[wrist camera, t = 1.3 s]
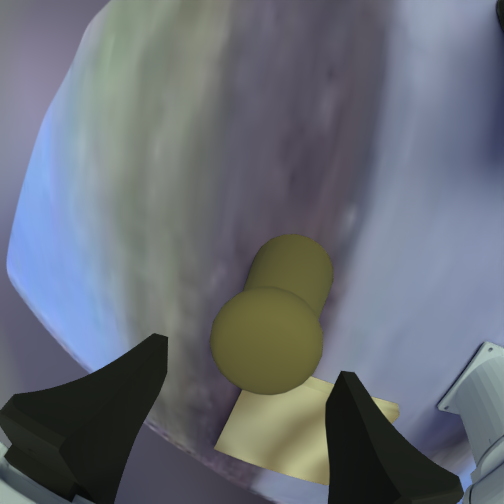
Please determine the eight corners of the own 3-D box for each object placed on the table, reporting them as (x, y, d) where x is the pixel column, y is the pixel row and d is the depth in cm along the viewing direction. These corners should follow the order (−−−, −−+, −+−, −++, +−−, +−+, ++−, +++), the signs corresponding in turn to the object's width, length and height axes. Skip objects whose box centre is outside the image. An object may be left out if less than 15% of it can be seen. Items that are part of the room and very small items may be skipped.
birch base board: (397, 404, 23) (399, 415, 22) (328, 476, 28) (327, 485, 26) (257, 355, 25) (253, 365, 24) (218, 439, 30) (213, 448, 28)
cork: (311, 323, 23) (291, 430, 13) (240, 291, 24) (177, 377, 13) (347, 255, 21) (359, 338, 11) (270, 220, 22) (213, 271, 11)
